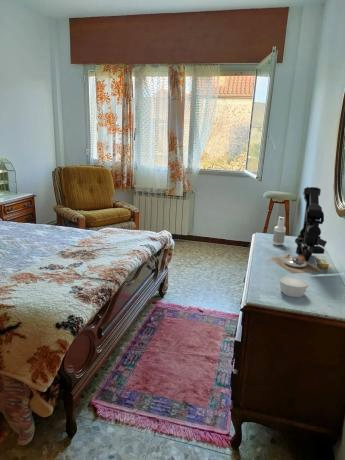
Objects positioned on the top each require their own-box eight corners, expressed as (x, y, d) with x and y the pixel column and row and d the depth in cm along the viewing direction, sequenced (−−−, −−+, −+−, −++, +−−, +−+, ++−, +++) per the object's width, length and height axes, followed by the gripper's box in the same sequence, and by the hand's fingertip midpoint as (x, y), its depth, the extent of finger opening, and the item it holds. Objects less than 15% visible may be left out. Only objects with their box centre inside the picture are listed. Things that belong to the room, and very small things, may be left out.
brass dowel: (287, 259, 177) (288, 253, 176) (289, 260, 175) (290, 254, 174) (284, 259, 176) (285, 254, 175) (286, 260, 175) (287, 255, 174)
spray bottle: (271, 244, 204) (275, 217, 200) (273, 242, 210) (277, 215, 206) (282, 246, 201) (286, 218, 197) (284, 244, 207) (288, 216, 202)
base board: (297, 258, 182) (297, 256, 181) (323, 273, 161) (323, 271, 161) (268, 259, 177) (268, 257, 177) (291, 275, 157) (291, 273, 157)
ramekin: (273, 289, 141) (274, 278, 140) (292, 285, 146) (294, 274, 144) (291, 300, 131) (293, 288, 130) (311, 296, 136) (313, 285, 134)
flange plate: (297, 269, 162) (298, 262, 161) (279, 262, 170) (280, 255, 169) (313, 264, 169) (315, 257, 168) (296, 258, 178) (296, 251, 177)
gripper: (336, 237, 157) (331, 267, 162) (315, 227, 175) (311, 254, 179) (315, 237, 156) (310, 267, 160) (296, 227, 174) (292, 254, 178)
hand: (306, 260), depth 169 cm, fingers closed
